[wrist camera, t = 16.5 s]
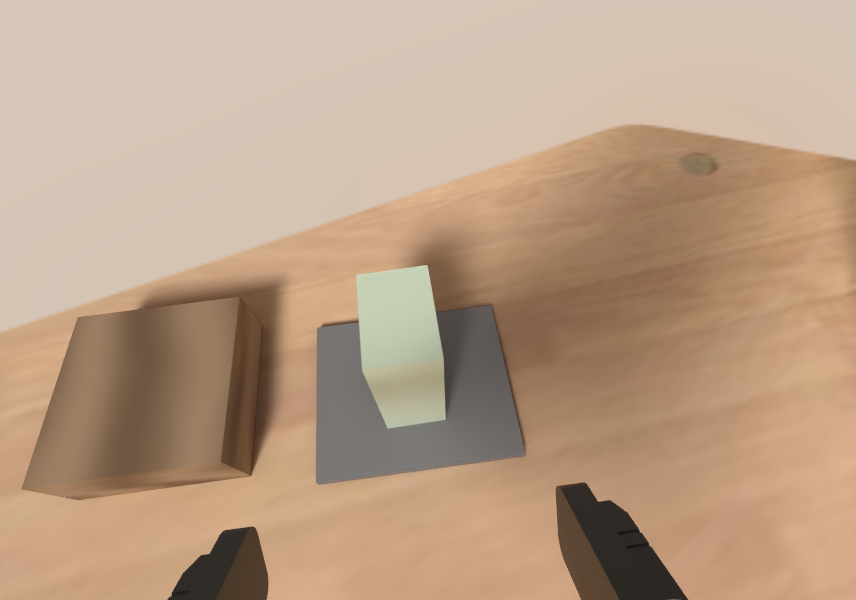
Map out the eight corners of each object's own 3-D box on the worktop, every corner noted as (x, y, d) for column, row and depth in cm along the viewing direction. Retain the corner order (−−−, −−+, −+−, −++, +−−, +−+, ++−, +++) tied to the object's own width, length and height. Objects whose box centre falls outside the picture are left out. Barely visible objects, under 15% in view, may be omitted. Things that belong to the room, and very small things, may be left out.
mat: (490, 309, 31) (491, 305, 31) (523, 456, 26) (525, 453, 26) (319, 331, 31) (317, 327, 30) (318, 484, 26) (316, 482, 25)
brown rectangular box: (262, 326, 31) (239, 296, 28) (250, 476, 26) (220, 461, 23) (118, 345, 31) (77, 317, 28) (78, 499, 26) (21, 489, 22)
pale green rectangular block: (433, 345, 29) (427, 265, 22) (445, 419, 27) (443, 358, 19) (380, 352, 29) (355, 274, 22) (387, 428, 27) (362, 370, 19)
